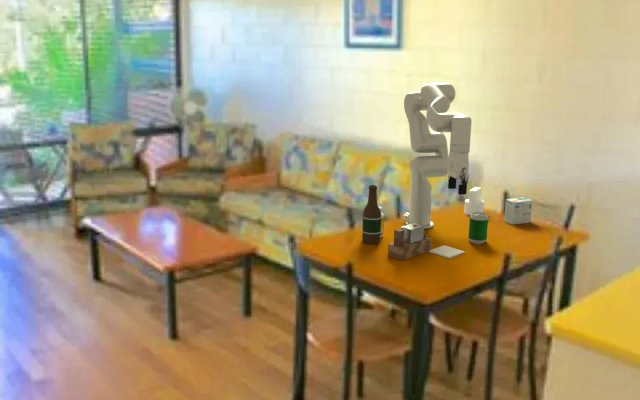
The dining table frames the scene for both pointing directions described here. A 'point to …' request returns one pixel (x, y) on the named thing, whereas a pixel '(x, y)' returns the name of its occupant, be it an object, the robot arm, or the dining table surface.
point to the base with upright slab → (474, 202)
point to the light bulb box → (518, 210)
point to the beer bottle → (371, 219)
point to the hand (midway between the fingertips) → (456, 191)
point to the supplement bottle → (381, 222)
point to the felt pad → (446, 251)
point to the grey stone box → (413, 233)
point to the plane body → (407, 246)
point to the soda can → (478, 227)
